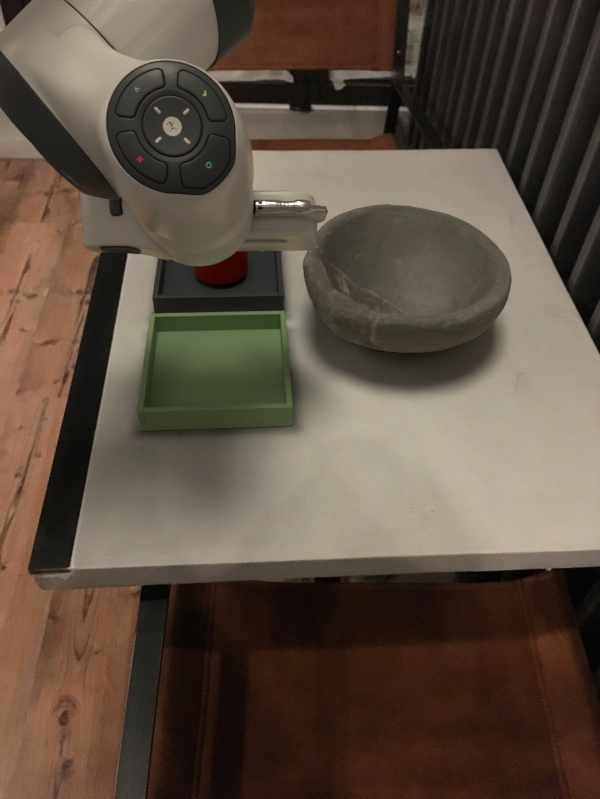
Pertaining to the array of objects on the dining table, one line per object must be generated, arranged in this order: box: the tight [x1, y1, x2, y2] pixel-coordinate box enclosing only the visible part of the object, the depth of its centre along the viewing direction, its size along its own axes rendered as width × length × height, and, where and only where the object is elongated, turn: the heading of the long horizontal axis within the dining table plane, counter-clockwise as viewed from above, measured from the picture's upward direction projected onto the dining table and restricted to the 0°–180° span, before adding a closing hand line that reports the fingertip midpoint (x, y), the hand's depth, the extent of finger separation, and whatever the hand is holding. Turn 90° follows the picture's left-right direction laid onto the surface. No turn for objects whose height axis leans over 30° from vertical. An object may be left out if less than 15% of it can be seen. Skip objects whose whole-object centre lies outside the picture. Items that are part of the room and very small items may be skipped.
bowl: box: [302, 203, 513, 354], centre depth 77 cm, size 23×22×10 cm
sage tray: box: [136, 310, 294, 432], centre depth 73 cm, size 15×15×3 cm
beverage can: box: [194, 251, 248, 285], centre depth 82 cm, size 7×7×12 cm
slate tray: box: [151, 251, 285, 314], centre depth 85 cm, size 15×15×3 cm
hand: (207, 243), depth 66 cm, fingers open, 8 cm apart
